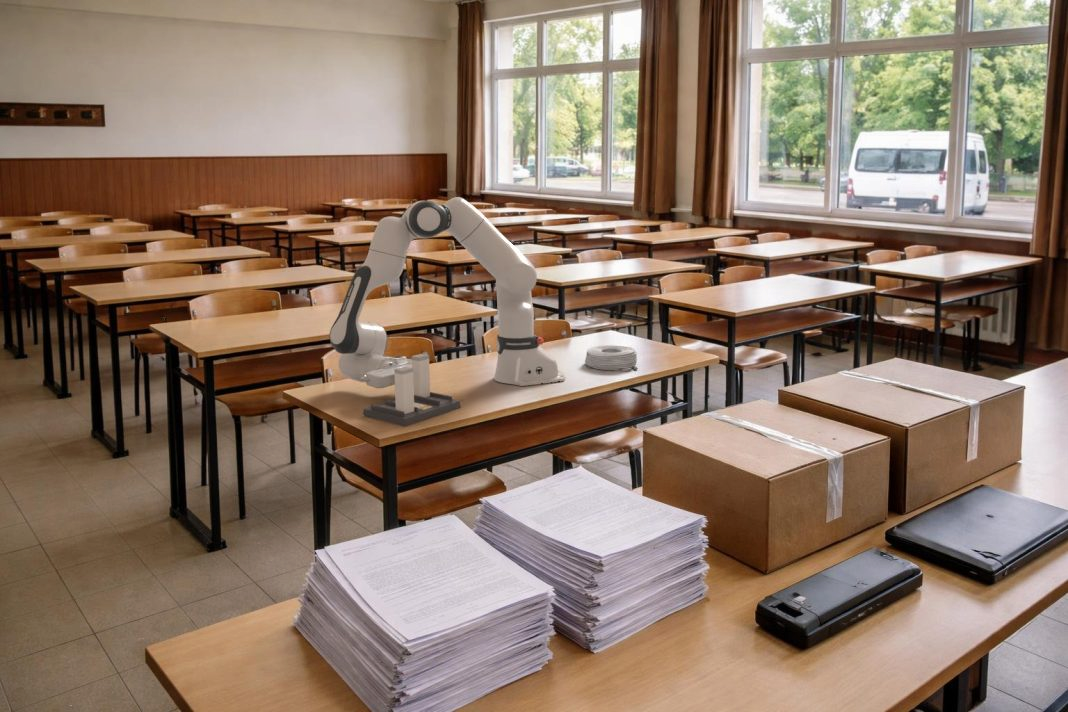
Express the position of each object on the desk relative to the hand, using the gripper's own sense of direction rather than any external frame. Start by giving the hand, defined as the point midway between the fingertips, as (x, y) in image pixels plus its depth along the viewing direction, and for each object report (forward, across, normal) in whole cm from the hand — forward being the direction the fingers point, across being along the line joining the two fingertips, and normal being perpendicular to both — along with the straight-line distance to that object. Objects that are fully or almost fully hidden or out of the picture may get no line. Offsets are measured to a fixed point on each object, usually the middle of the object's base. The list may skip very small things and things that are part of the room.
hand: (417, 378), depth 266 cm
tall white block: (+1, 0, +5) cm, 5 cm away
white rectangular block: (+9, -14, +5) cm, 17 cm away
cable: (+20, +73, +8) cm, 76 cm away
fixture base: (+5, -7, +7) cm, 11 cm away
